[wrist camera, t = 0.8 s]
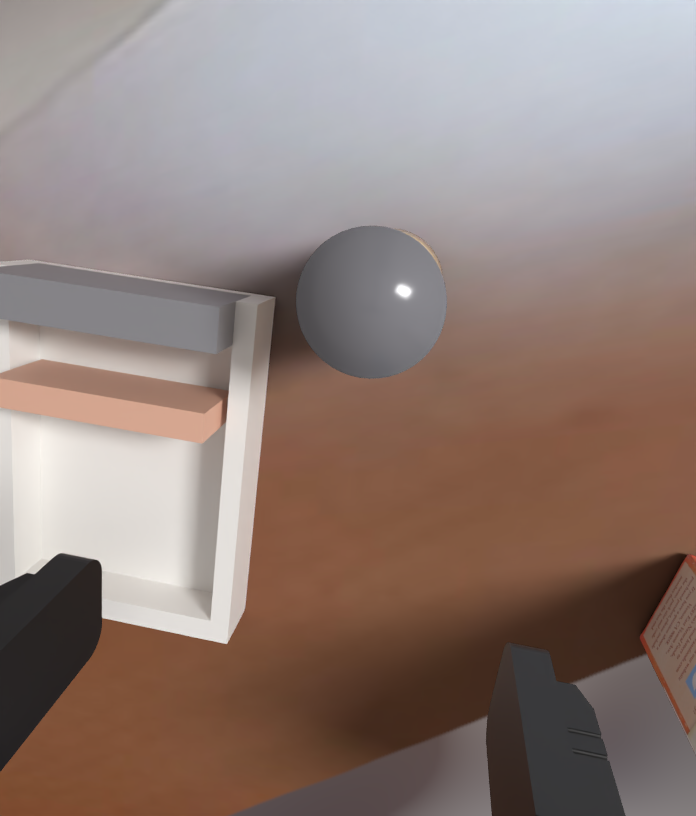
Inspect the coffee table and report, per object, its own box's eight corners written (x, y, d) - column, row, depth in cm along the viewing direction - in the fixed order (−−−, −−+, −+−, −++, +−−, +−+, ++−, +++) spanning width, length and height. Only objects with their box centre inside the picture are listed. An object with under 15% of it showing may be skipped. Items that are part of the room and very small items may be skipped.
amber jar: (343, 219, 30) (304, 215, 21) (454, 234, 29) (459, 237, 21) (330, 327, 31) (288, 365, 23) (434, 344, 31) (432, 389, 22)
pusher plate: (42, 359, 33) (-11, 376, 29) (232, 391, 32) (204, 413, 28) (42, 385, 33) (-10, 405, 29) (230, 417, 32) (202, 443, 28)
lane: (29, 259, 32) (-48, 265, 27) (275, 297, 31) (242, 310, 26) (34, 566, 38) (-30, 619, 33) (245, 609, 36) (212, 671, 31)
